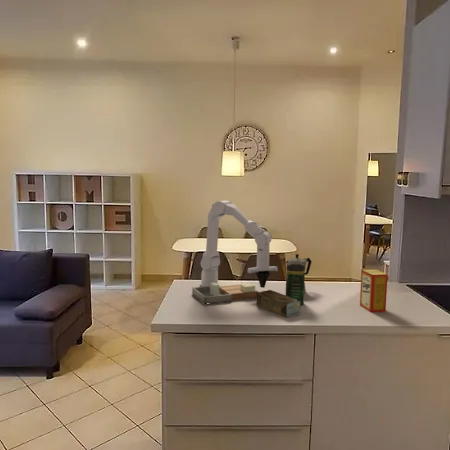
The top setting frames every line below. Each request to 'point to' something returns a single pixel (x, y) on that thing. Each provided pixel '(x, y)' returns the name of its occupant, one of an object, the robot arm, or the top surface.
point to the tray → (209, 295)
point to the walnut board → (237, 292)
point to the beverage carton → (278, 303)
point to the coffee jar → (295, 280)
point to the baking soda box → (373, 290)
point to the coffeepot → (303, 263)
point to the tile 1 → (214, 289)
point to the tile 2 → (247, 287)
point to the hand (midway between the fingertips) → (262, 287)
